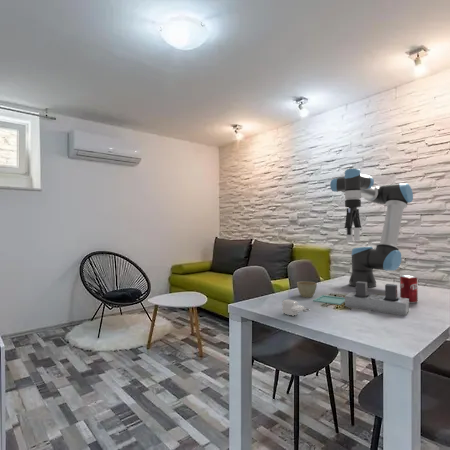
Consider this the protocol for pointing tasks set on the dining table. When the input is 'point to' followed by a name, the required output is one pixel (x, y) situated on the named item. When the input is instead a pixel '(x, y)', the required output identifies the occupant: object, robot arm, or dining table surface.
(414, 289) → the soda can
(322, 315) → the dining table surface
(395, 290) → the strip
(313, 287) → the flower pot
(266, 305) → the dining table surface
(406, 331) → the dining table surface
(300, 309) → the white lumpy piece
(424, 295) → the dining table surface
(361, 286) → the plug
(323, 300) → the tray
